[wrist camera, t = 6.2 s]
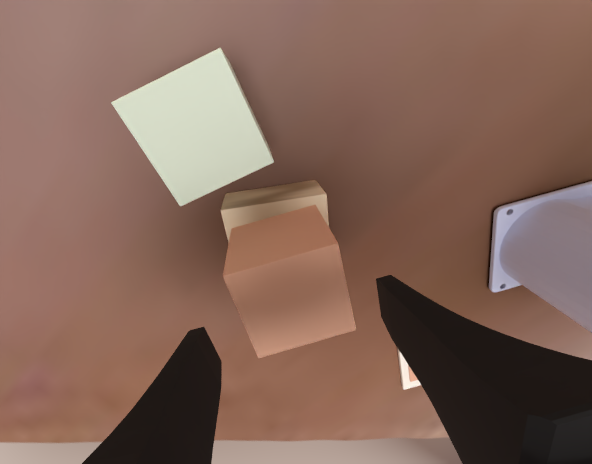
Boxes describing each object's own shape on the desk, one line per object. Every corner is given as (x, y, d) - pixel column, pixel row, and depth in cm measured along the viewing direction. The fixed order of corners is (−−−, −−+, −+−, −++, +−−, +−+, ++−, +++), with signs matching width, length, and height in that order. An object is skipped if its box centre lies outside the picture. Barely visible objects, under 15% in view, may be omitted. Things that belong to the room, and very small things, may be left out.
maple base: (314, 178, 20) (326, 193, 16) (321, 255, 22) (332, 281, 19) (225, 192, 19) (220, 210, 16) (243, 268, 22) (241, 297, 19)
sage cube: (229, 62, 16) (220, 47, 12) (269, 146, 18) (273, 162, 14) (150, 101, 16) (111, 102, 12) (198, 180, 19) (180, 206, 14)
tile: (448, 329, 27) (452, 334, 26) (448, 372, 29) (452, 377, 29) (397, 344, 27) (399, 349, 26) (401, 386, 29) (404, 391, 29)
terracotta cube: (315, 204, 17) (338, 242, 12) (331, 274, 19) (356, 329, 14) (231, 228, 17) (222, 276, 12) (257, 296, 19) (258, 358, 14)
